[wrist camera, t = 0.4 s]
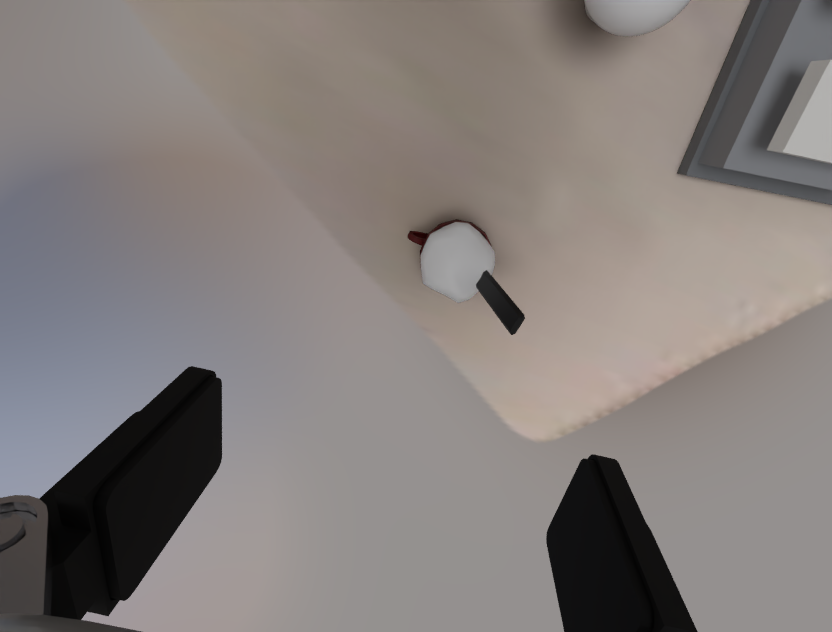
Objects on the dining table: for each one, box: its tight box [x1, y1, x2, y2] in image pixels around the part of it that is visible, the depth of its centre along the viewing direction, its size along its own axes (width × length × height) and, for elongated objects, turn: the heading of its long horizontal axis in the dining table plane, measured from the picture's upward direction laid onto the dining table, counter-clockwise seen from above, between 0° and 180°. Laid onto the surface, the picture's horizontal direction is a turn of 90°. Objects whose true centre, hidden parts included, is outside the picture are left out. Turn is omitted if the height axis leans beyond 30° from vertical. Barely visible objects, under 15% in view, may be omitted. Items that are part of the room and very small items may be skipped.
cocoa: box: [408, 219, 525, 335], centre depth 34 cm, size 10×6×12 cm, turn 44°
